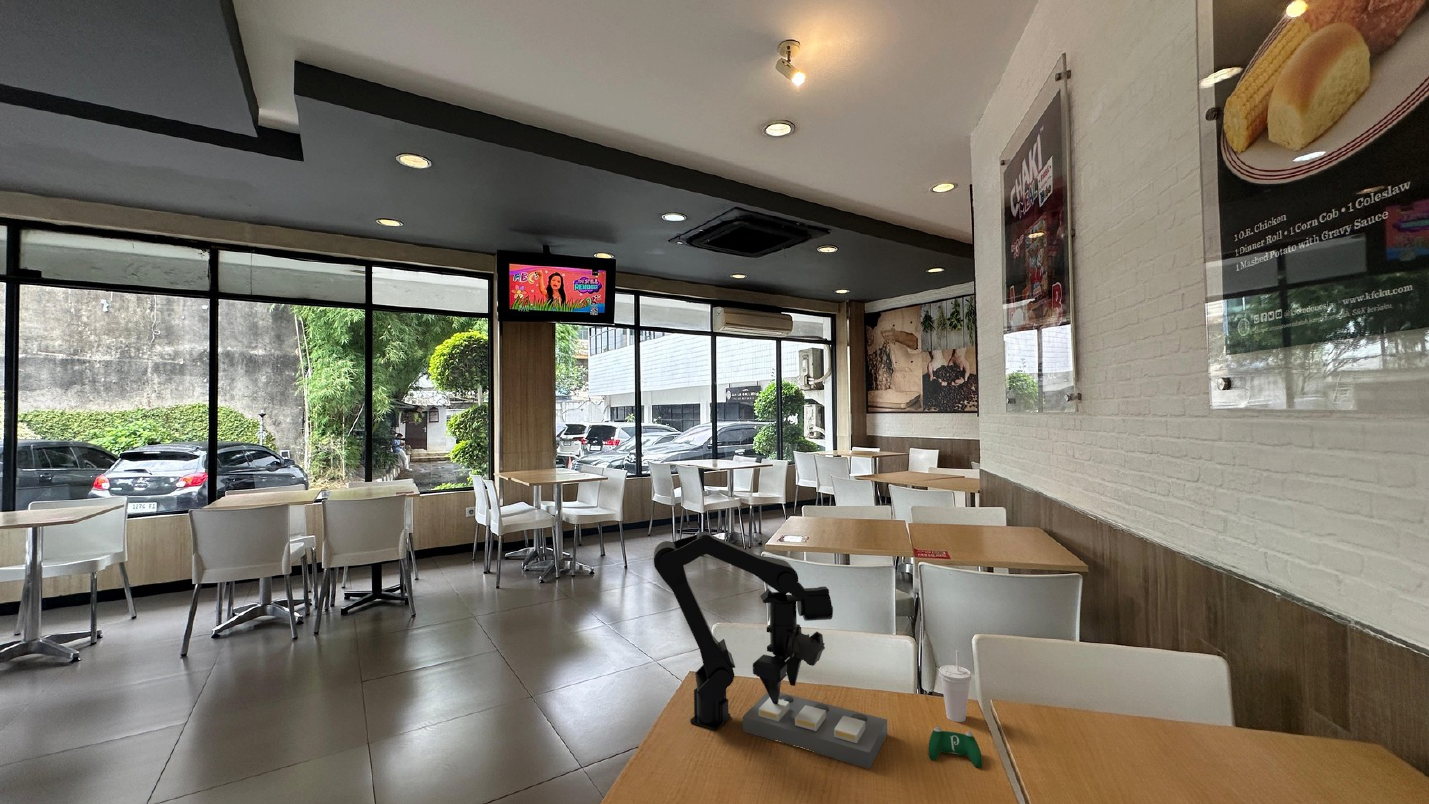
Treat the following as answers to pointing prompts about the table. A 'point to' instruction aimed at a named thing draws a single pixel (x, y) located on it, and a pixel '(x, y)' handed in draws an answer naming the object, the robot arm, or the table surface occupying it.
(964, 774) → the table surface
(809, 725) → the middle button
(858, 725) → the right button
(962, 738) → the gaming controller
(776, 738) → the control panel
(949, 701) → the smoothie
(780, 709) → the left button
